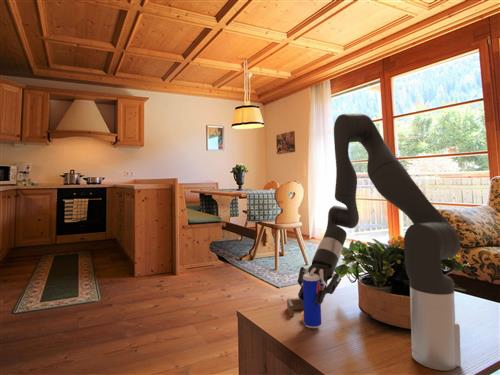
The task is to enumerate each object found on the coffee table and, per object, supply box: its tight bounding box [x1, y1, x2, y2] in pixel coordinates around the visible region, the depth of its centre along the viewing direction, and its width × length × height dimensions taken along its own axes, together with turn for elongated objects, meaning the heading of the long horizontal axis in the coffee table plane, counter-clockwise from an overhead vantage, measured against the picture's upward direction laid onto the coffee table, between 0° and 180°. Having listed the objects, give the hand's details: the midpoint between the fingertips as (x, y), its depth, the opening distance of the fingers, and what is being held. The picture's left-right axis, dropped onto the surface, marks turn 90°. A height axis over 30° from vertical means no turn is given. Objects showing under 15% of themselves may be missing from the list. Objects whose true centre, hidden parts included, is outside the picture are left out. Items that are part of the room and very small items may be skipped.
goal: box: [286, 297, 304, 318], centre depth 103 cm, size 10×7×4 cm
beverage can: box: [303, 273, 322, 329], centre depth 91 cm, size 5×5×15 cm
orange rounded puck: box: [301, 310, 304, 323], centre depth 96 cm, size 4×4×2 cm
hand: (308, 301), depth 90 cm, fingers closed on beverage can, 5 cm apart
